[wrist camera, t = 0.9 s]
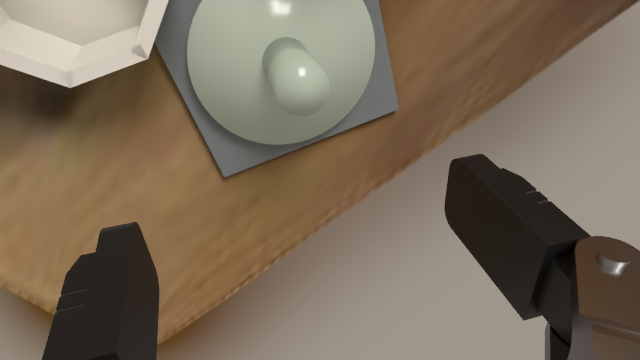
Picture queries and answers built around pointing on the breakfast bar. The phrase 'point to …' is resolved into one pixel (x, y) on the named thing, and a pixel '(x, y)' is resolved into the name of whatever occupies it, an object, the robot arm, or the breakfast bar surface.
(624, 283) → the robot arm
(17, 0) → the bowl
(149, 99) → the breakfast bar surface
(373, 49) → the lid
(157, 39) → the mat
